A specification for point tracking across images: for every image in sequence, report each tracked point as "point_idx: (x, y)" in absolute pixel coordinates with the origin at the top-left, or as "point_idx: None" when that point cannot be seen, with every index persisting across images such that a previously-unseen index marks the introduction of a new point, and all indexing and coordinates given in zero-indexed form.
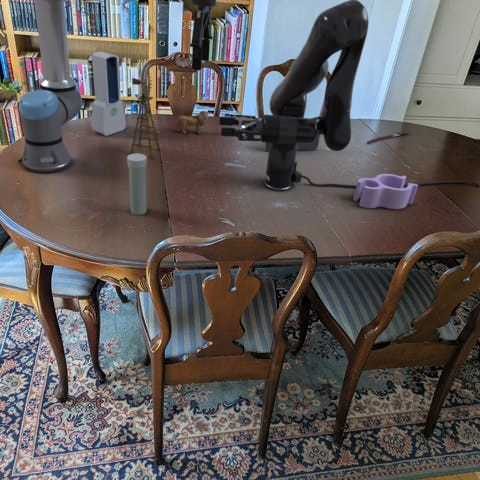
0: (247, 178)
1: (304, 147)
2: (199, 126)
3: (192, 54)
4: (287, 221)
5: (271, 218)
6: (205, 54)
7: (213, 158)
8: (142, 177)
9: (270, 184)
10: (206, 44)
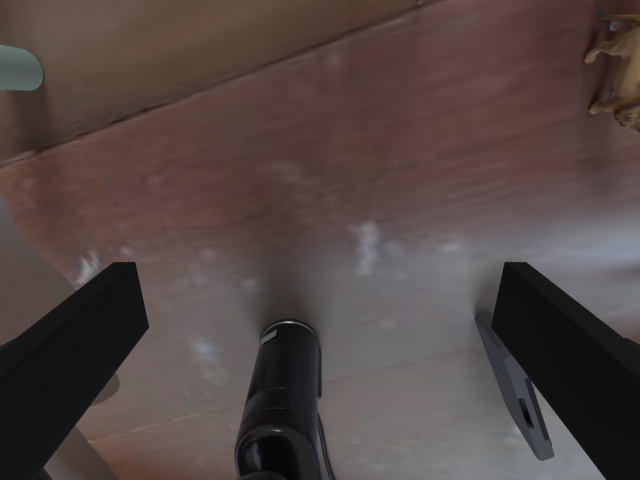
0: (300, 283)
1: (502, 392)
2: (609, 109)
3: (9, 343)
4: (145, 364)
5: (142, 340)
6: (525, 335)
7: (397, 188)
8: None
9: (263, 336)
10: (597, 425)
